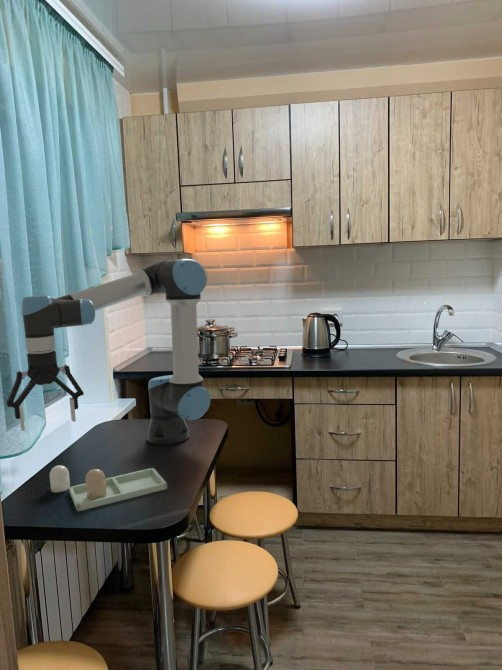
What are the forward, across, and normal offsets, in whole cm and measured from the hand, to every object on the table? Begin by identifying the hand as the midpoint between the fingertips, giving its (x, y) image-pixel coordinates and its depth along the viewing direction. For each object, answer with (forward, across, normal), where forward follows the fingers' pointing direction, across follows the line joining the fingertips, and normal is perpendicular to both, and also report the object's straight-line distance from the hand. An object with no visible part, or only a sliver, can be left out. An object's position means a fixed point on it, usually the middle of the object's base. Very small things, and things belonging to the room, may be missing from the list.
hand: (48, 425), depth 146 cm
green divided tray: (+19, -15, +13) cm, 28 cm away
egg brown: (+19, -9, +13) cm, 24 cm away
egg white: (+20, -1, +2) cm, 20 cm away
